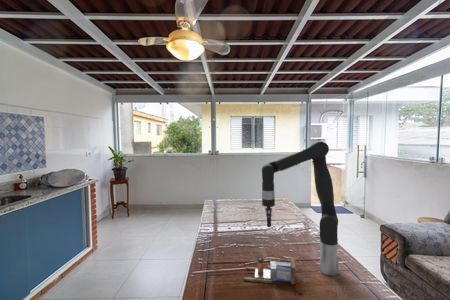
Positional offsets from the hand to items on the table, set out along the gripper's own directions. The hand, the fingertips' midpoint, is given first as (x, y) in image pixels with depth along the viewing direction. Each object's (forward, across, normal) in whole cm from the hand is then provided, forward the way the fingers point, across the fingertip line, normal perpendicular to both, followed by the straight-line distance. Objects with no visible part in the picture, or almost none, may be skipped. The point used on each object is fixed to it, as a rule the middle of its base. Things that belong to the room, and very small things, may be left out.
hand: (268, 224), depth 145 cm
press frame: (+25, -11, 0) cm, 28 cm away
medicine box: (+26, -13, -7) cm, 30 cm away
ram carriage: (+26, -11, +2) cm, 28 cm away
